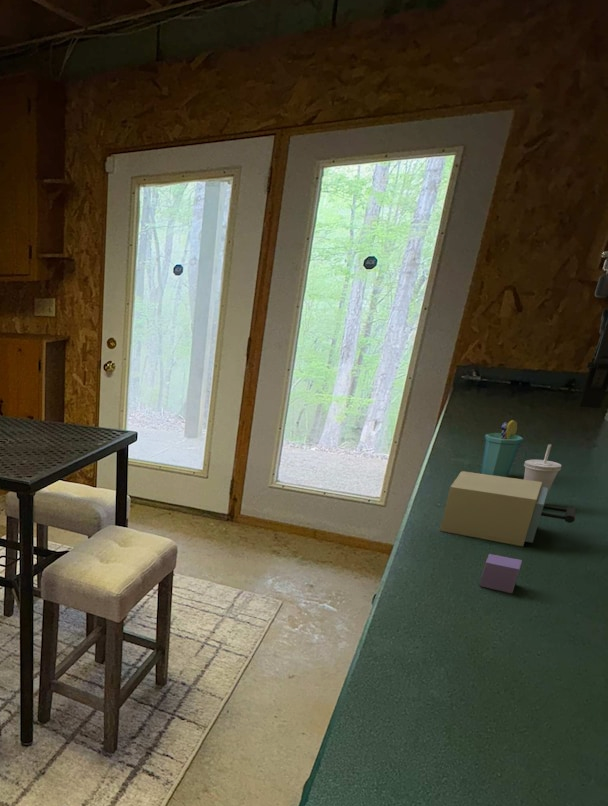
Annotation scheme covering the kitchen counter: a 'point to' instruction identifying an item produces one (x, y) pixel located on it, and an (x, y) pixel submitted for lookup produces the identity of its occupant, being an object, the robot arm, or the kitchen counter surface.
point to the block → (500, 573)
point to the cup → (501, 450)
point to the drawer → (546, 514)
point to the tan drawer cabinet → (490, 507)
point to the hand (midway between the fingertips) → (590, 400)
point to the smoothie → (542, 470)
